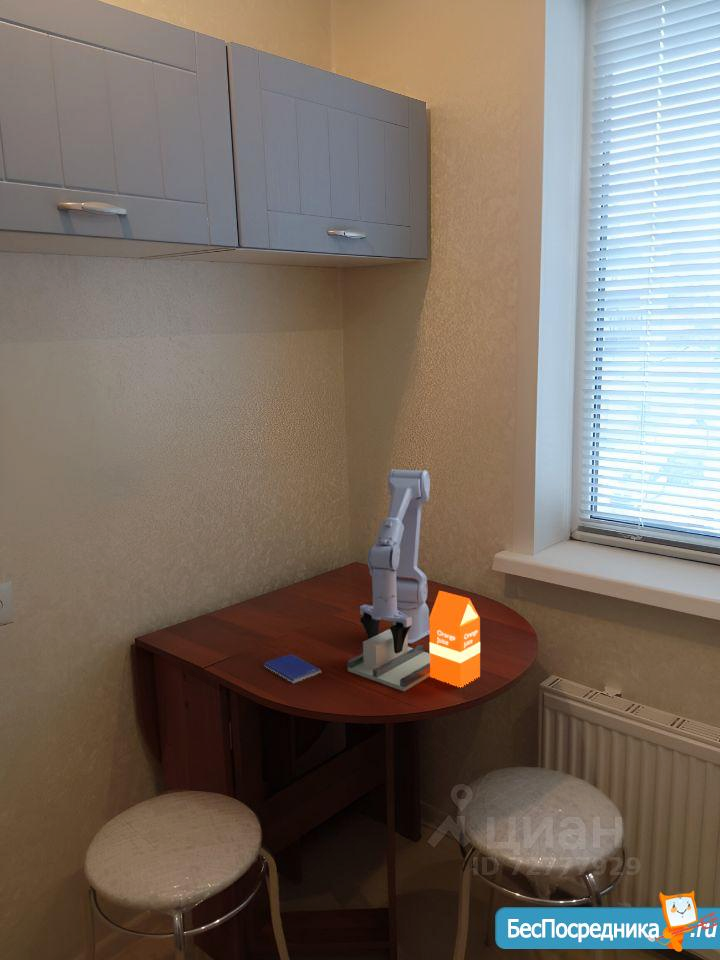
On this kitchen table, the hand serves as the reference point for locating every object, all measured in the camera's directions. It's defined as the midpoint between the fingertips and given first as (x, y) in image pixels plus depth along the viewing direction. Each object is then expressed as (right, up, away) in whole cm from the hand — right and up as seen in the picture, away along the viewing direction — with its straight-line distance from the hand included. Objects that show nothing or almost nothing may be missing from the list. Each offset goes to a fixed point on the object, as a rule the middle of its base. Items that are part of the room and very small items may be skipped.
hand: (386, 647), depth 183 cm
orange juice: (+16, -5, -8) cm, 18 cm away
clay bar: (0, -3, +1) cm, 3 cm away
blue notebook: (-23, -6, -1) cm, 23 cm away
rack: (+3, -4, -2) cm, 6 cm away
